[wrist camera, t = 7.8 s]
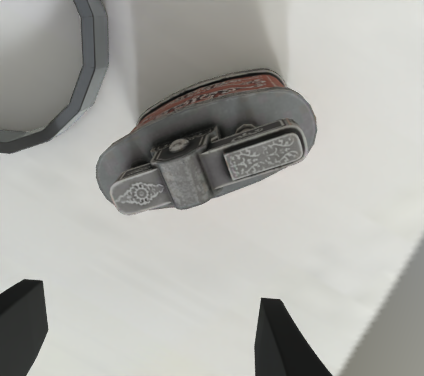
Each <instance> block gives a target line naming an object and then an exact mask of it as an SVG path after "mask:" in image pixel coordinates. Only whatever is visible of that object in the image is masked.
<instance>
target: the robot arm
mask: <svg viewBox="0 0 424 376" xmlns="http://www.w3.org/2000/svg"><path fill="white" fill-rule="evenodd" d="M47 332H48V323H47V314H46V306H45V297H44V288H43V281H40V280H28V279H24V280H22V281H20V282H19V283H17V284H15V285H14V286H12V287H10V288H9V289H7V290H6V291H4V292H3V293H1V294H0V376H26V375H27V373H28V371H29V370H30V368H31V366H32V365H33V363H34V361H35V359H36V357H37V355H38V353H39V351H40V348H41V346H42V344H43V341H44V339H45V337H46V334H47ZM254 349H255V376H332V374H331V373H330V372H329V371H328V370H327V368H326V367H325V366H324V364H323V363H322V362H321V361H320V359H319V358H318V357H317V355H316V354H315V353H314V351H313V350H312V348H311V347H310V345H309V344H308V343H307V341H306V340H305V338H304V337H303V335H302V334H301V332H300V331H299V329H298V328H297V326H296V324H295V323H294V321H293V320H292V318H291V316H290V315H289V313H288V311H287V309H286V308H285V306H284V304H283V302H282V301H281V300H280V299H270V298H261V303H260V310H259V317H258V324H257V331H256V339H255V346H254Z"/></svg>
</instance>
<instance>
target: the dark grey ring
mask: <svg viewBox="0 0 424 376" xmlns="http://www.w3.org/2000/svg"><path fill="white" fill-rule="evenodd" d="M73 1H74V3H75V5H76V8H77V10H78V13H79V15H80V17H81V35H82V56H83V66H82V69H81V72H80V75H79V77H78V80H77V83H76V86H75V88H74V91H73V94H72V97H71V100H70V102H69V104H68V105H67V106H66V107H65V108H64V109H63V110H62V111H61V112H60V113H59V114H58V115H57V116H56V117H55V118H54V119H53V120H52V121H51V122H50V123H49V124H48V125H46V126H43V127H40V128H38V129H35V130H32V131H29V132H22V131H10V130H0V153H7V154H11V153H15V152H18V151H21V150H24V149H27V148H30V147H33V146H36V145H39V144H42V143H45V142H48V141H50V140H52V139H53V138H55V137H57V136H58V135H60V134H61V133H63V132H65V131H66V130H68V129H69V128H70V127H71V126H72V125H73V124H74V123H75V122H76V121H77V120H78V119H79V118H80V117H81V116H82V115H83V114H84V113H85V112H86V111H87V110H88V109H89V108H90V107H91V106H92V105H93V104H94V102H95V100H96V97H97V95H98V92H99V89H100V87H101V84H102V81H103V79H104V76H105V74H106V71H107V68H108V64H109V52H108V18H107V14H106V12H105V9H104V6H103V4H102V1H101V0H73Z"/></svg>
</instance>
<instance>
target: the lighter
mask: <svg viewBox="0 0 424 376" xmlns="http://www.w3.org/2000/svg"><path fill="white" fill-rule="evenodd" d="M316 133H317V125H316V117H315V115H314V112H313V110H312V108H311V106H310V104H309V103H308V102H307V101H306V100H305V99H304V98H303V97H302V96H301V95H300V94H299V93H298V92H296V91H294V90H292V89H290V88H288V87H287V86H286V84H285V82H284V80H283V79H282V78H281V77H280V76H279V75H278V74H277V73H276V72H274V71H272V70H270V69H254V70H248V71H241V72H235V73H229V74H226V75H222V76H219V77H215V78H212V79H208V80H204V81H201V82H198V83H196V84H194V85H192V86H190V87H187V88H185V89H183V90H181V91H178V92H176V93H174V94H172V95H170V96H169V97H167V98H165V99H164V100H162V101H160V102H159V103H157V104H155V105H154V106H152V107H150V108H149V109H148V110H146V111H145V112H144V113H143V114H142V115H141V116H140V117H139V120H138V122H137V126H136V127H135V128H134V129H133V130H132V131H131V132H130V133H129V134H128V135H126V136H124V137H123V138H121V139H119V140H118V141H116V142H114V143H113V144H112V145H111V146H110V147H109V148H108V149H107V150H106V151H105V152H104V153H103V154H102V155H100V157H99V160H98V162H97V165H96V179H97V182H98V185H99V188H100V190H101V191H102V193H103V194H104V196H105V197H106V199H107V200H109V201H110V202H111V203H112V204H113V205H115V207H116V208H117V210H118V211H119V212H121V213H122V214H125V215H133V214H137V213H141V212H144V211H147V210H155V209H163V208H171V207H175V208H177V209H180V210H182V209H189V208H192V207H195V206H198V205H201V204H203V203H205V202H207V201H209V200H210V199H212V198H216V197H219V196H222V195H225V194H227V193H230V192H233V191H235V190H238V189H240V188H243V187H246V186H248V185H251V184H253V183H256V182H259V181H261V180H263V179H265V178H267V177H269V176H270V175H272V174H274V173H276V172H278V171H280V170H282V169H284V168H286V167H288V166H291V165H294V164H297V163H299V162H301V161H302V160H303V159H304V158H305V157H306V156H307V154H308V152H309V151H310V149H311V148H312V146H313V144H314V142H315V137H316Z"/></svg>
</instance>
